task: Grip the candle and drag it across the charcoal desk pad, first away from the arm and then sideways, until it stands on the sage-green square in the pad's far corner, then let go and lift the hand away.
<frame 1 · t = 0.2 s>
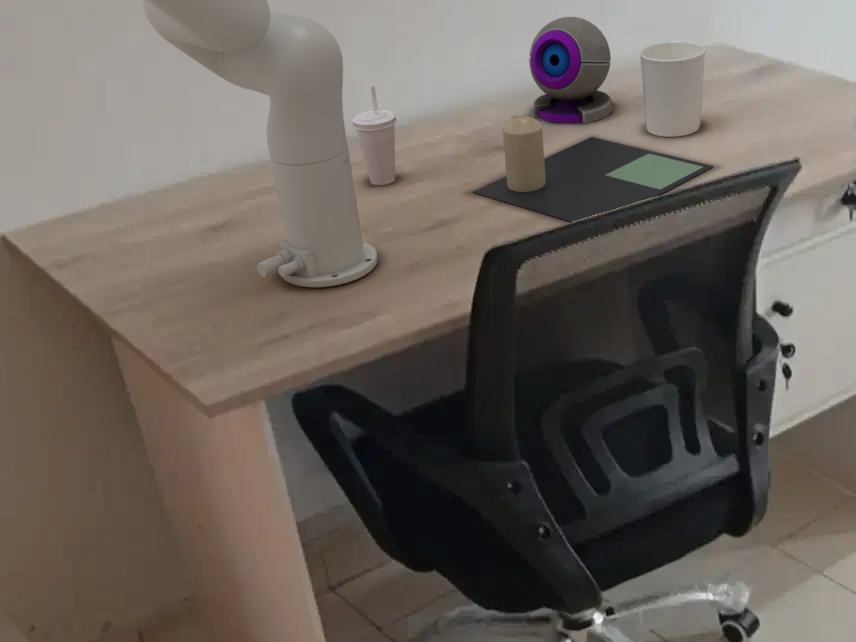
desk pad: (593, 180, 178), on the table
webcam: (572, 112, 204), on the table
candle: (526, 186, 178), resting on desk pad
candle holder: (673, 129, 193), on the table
smoothie: (382, 181, 185), on the table
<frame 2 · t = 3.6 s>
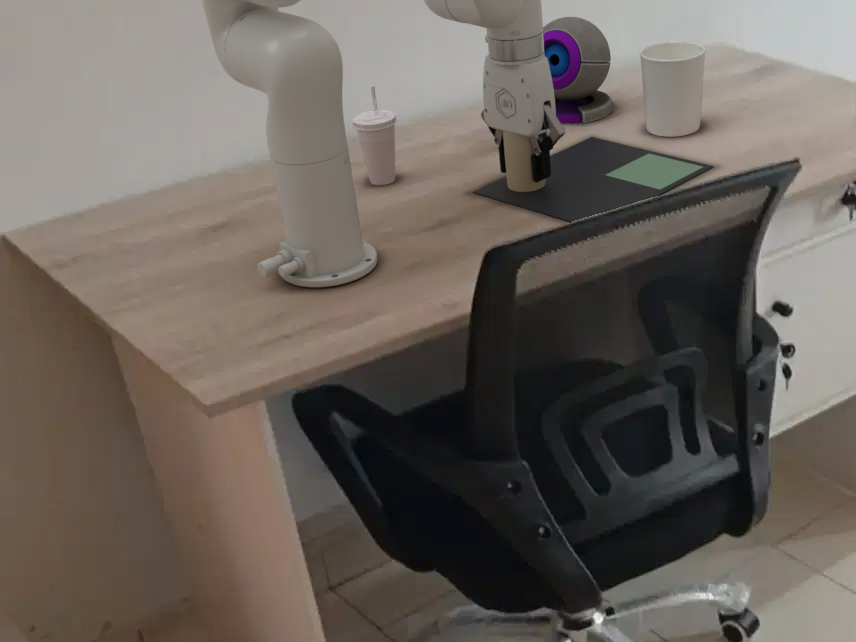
hand: (525, 173, 177), 2 cm above the table, tool pointing down, fingers closed on candle, 5 cm apart
candle: (526, 186, 178), resting on desk pad, touching gripper
everything else where it was.
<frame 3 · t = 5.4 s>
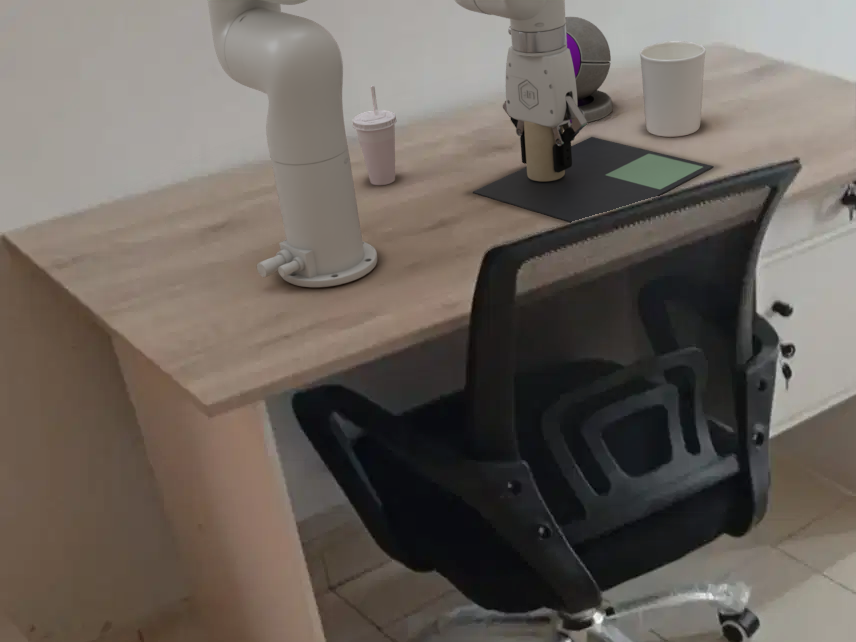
hand: (546, 163, 179), 2 cm above the table, tool pointing down, fingers closed on candle, 5 cm apart
candle: (546, 176, 180), resting on desk pad, touching gripper
everything else where it was.
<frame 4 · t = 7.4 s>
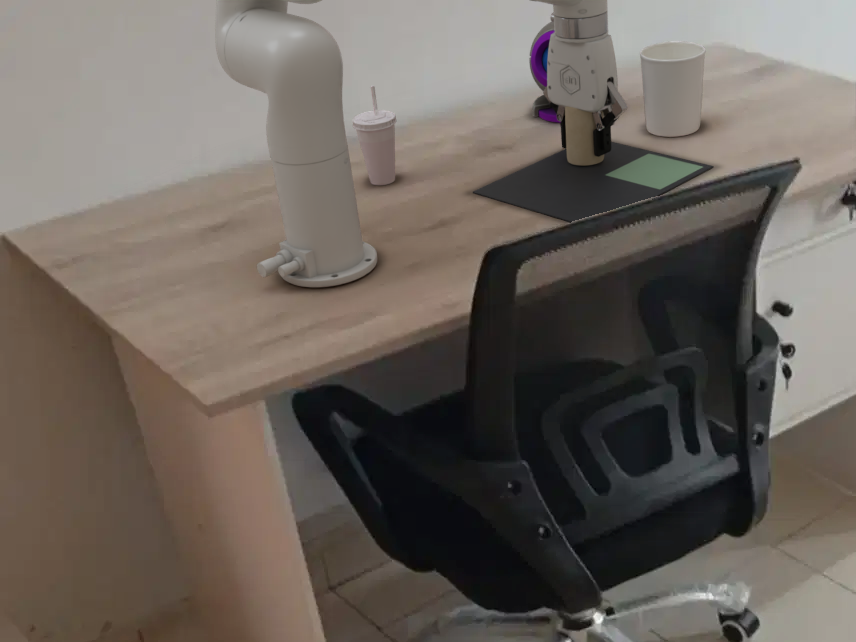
hand: (586, 148, 183), 2 cm above the table, tool pointing down, fingers closed on candle, 5 cm apart
candle: (585, 160, 184), resting on desk pad, touching gripper
everything else where it was.
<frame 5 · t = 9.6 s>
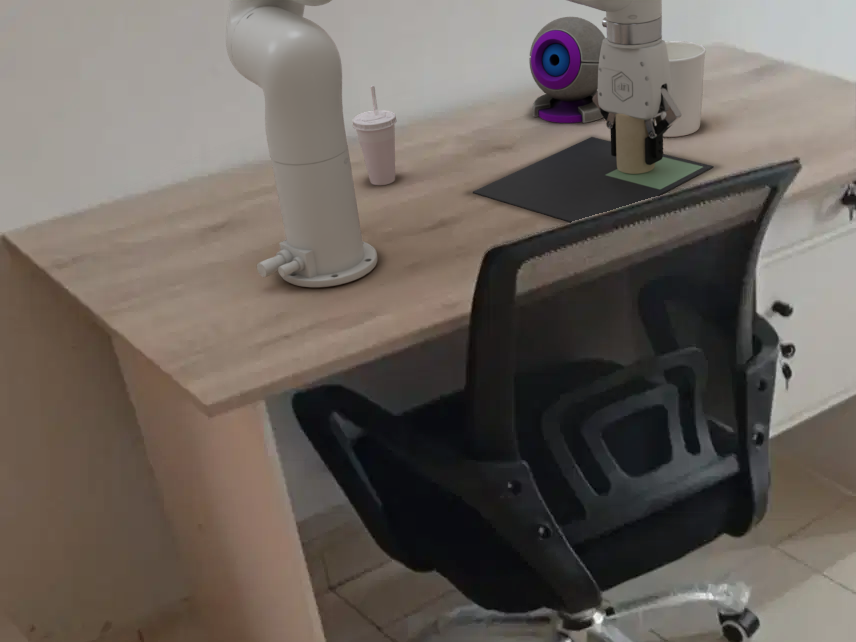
hand: (636, 156, 179), 2 cm above the table, tool pointing down, fingers closed on candle, 5 cm apart
candle: (635, 168, 180), resting on desk pad, touching gripper
everything else where it was.
when the fingers open (2 cm above the table, at t = 11.0 s): candle stays where it is, resting on desk pad.
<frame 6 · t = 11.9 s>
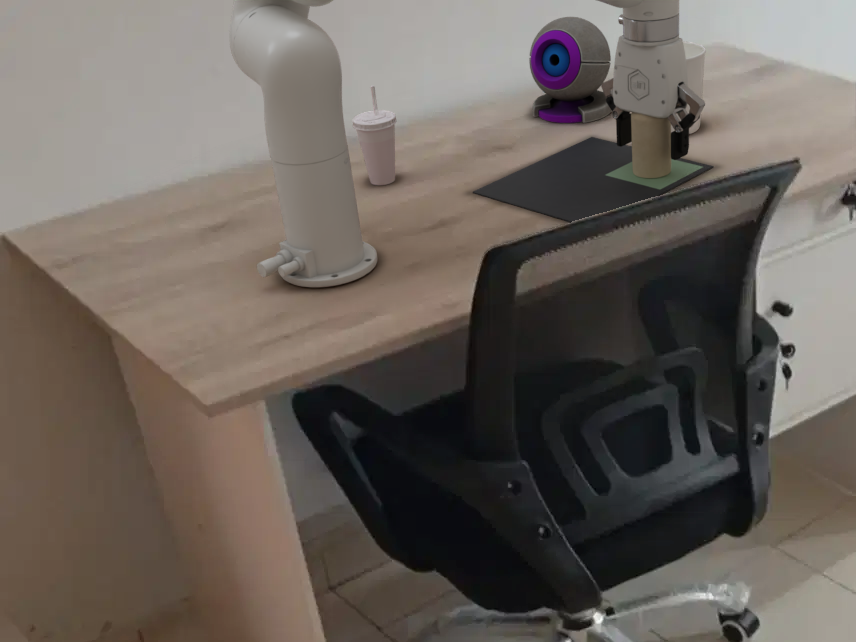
hand: (652, 150, 176), 3 cm above the table, tool pointing down, fingers open, 9 cm apart
candle: (652, 172, 178), resting on desk pad
everything else where it was.
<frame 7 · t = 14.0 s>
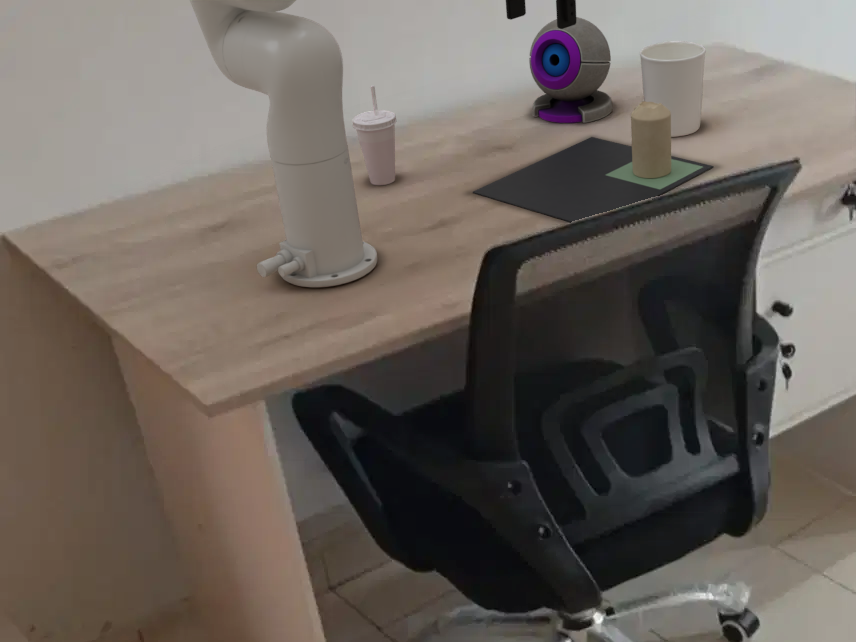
hand: (541, 21, 172), 21 cm above the table, tool pointing down, fingers open, 9 cm apart
nothing on the table moved.
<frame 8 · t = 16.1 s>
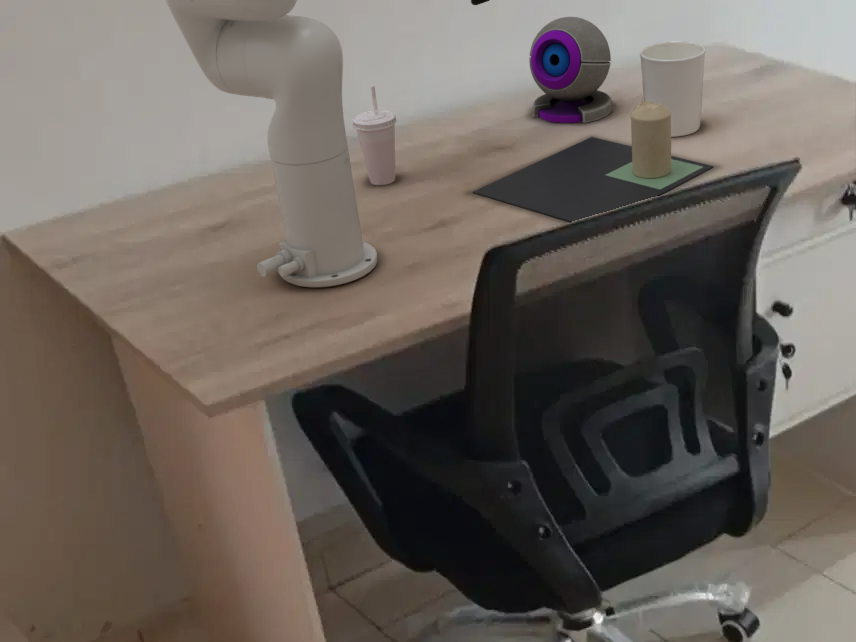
nothing on the table moved.
at the end: candle 0.4 cm from the target spot, resting on desk pad; candle tilted 0°; the gripper is holding nothing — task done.
